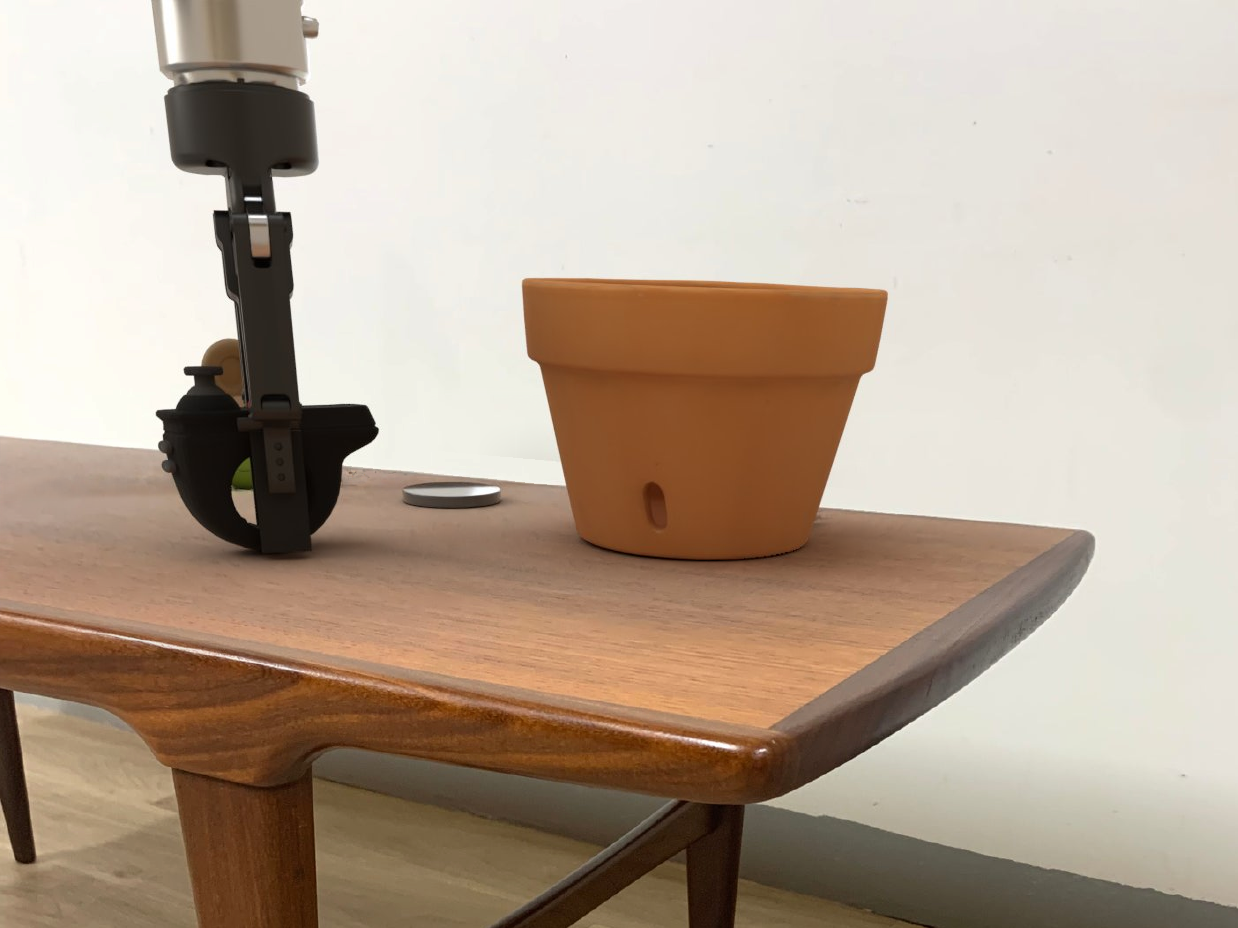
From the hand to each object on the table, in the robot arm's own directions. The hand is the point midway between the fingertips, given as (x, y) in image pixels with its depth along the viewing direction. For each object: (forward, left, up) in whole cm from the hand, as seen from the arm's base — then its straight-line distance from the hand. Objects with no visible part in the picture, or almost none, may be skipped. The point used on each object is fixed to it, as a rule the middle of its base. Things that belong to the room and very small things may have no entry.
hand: (283, 541), depth 77 cm
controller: (0, 0, 0) cm, 1 cm away
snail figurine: (-1, +24, -1) cm, 24 cm away
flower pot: (+25, -2, -1) cm, 25 cm away
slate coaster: (+13, +16, 0) cm, 20 cm away
